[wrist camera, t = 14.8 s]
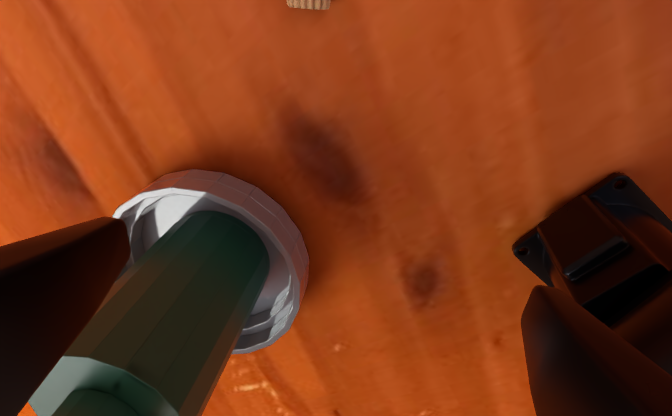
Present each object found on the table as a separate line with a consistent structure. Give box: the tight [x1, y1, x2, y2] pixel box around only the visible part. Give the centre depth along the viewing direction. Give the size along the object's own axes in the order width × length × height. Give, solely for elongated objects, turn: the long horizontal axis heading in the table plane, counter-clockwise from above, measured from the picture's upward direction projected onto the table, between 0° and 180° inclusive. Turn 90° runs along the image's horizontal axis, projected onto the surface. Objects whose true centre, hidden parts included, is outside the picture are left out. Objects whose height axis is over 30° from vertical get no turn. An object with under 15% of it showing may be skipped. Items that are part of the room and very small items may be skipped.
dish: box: [112, 169, 309, 354], centre depth 24 cm, size 12×12×3 cm
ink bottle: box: [28, 211, 270, 416], centre depth 19 cm, size 7×7×14 cm
